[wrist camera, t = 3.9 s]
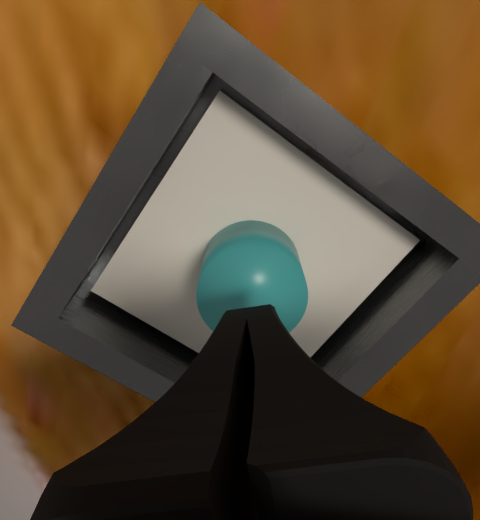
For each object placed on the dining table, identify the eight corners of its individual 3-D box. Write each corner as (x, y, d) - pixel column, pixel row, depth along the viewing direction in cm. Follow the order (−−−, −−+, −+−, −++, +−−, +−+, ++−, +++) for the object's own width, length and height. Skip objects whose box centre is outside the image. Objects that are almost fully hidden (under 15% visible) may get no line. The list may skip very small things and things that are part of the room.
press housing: (458, 212, 18) (513, 250, 14) (277, 403, 22) (284, 471, 18) (210, 17, 15) (199, 2, 12) (55, 275, 19) (11, 325, 15)
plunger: (410, 231, 17) (449, 268, 14) (272, 381, 20) (278, 441, 17) (221, 88, 15) (215, 95, 12) (98, 279, 18) (67, 325, 15)
